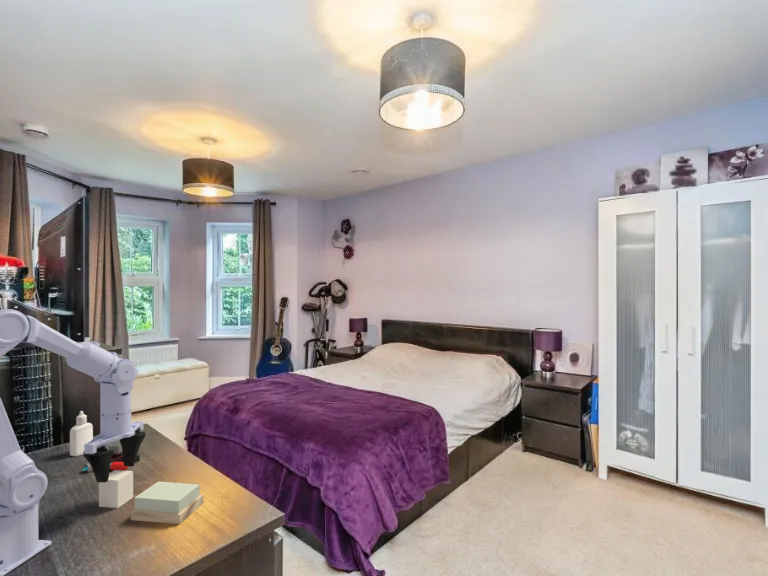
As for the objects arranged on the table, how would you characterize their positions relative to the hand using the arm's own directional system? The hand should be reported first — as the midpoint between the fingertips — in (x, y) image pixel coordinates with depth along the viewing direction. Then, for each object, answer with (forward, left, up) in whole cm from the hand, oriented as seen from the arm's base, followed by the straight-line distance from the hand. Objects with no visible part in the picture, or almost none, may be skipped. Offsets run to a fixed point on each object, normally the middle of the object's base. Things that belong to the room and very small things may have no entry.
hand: (116, 473), depth 90 cm
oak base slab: (-2, -14, -7) cm, 16 cm away
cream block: (0, 0, -6) cm, 6 cm away
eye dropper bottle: (+23, +31, -6) cm, 39 cm away
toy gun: (+15, +14, -7) cm, 22 cm away
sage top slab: (-2, -14, -4) cm, 15 cm away
